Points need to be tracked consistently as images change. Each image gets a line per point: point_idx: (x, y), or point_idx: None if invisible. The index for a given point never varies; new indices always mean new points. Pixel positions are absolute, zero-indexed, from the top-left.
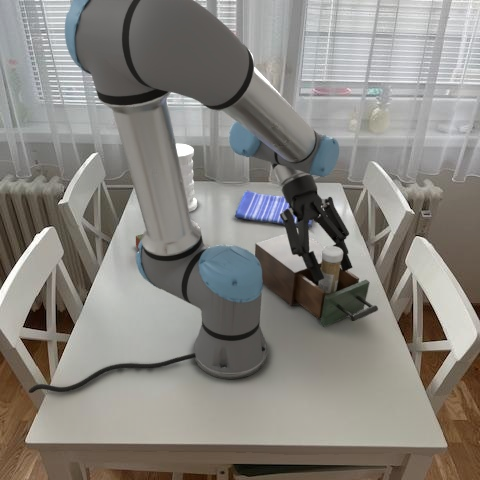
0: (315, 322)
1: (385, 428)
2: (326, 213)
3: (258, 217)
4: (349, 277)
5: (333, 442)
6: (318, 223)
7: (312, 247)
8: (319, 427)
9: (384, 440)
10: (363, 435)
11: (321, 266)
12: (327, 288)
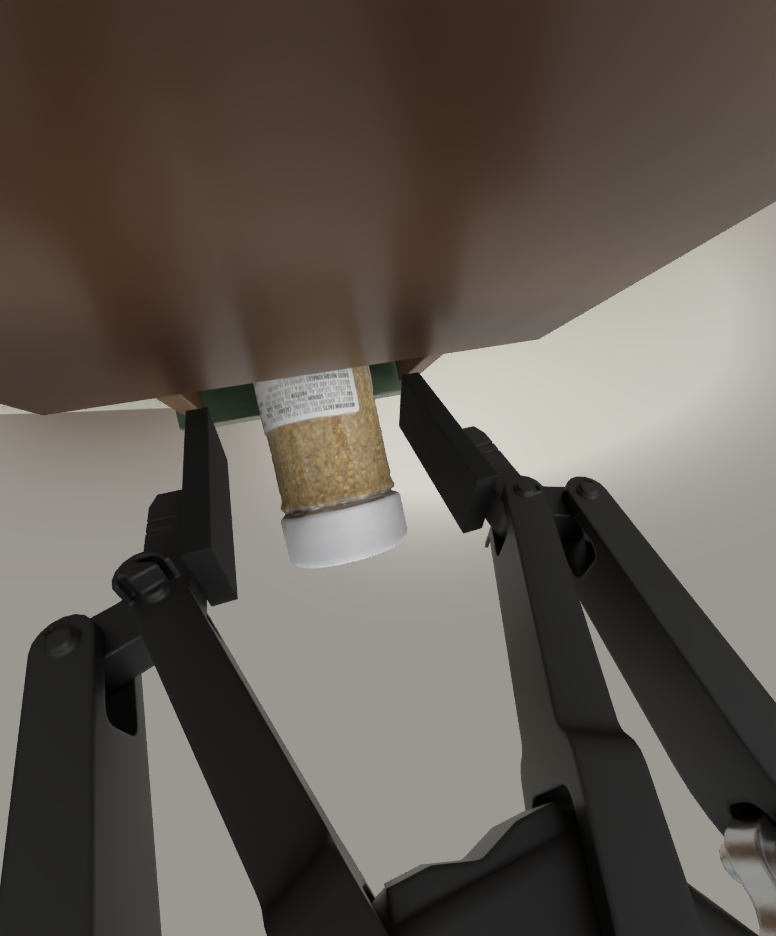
0: None
1: (150, 402)
2: (729, 744)
3: None
4: None
5: (29, 413)
6: (551, 707)
7: (663, 191)
8: (2, 405)
9: (135, 408)
10: (101, 407)
11: (277, 457)
12: None
